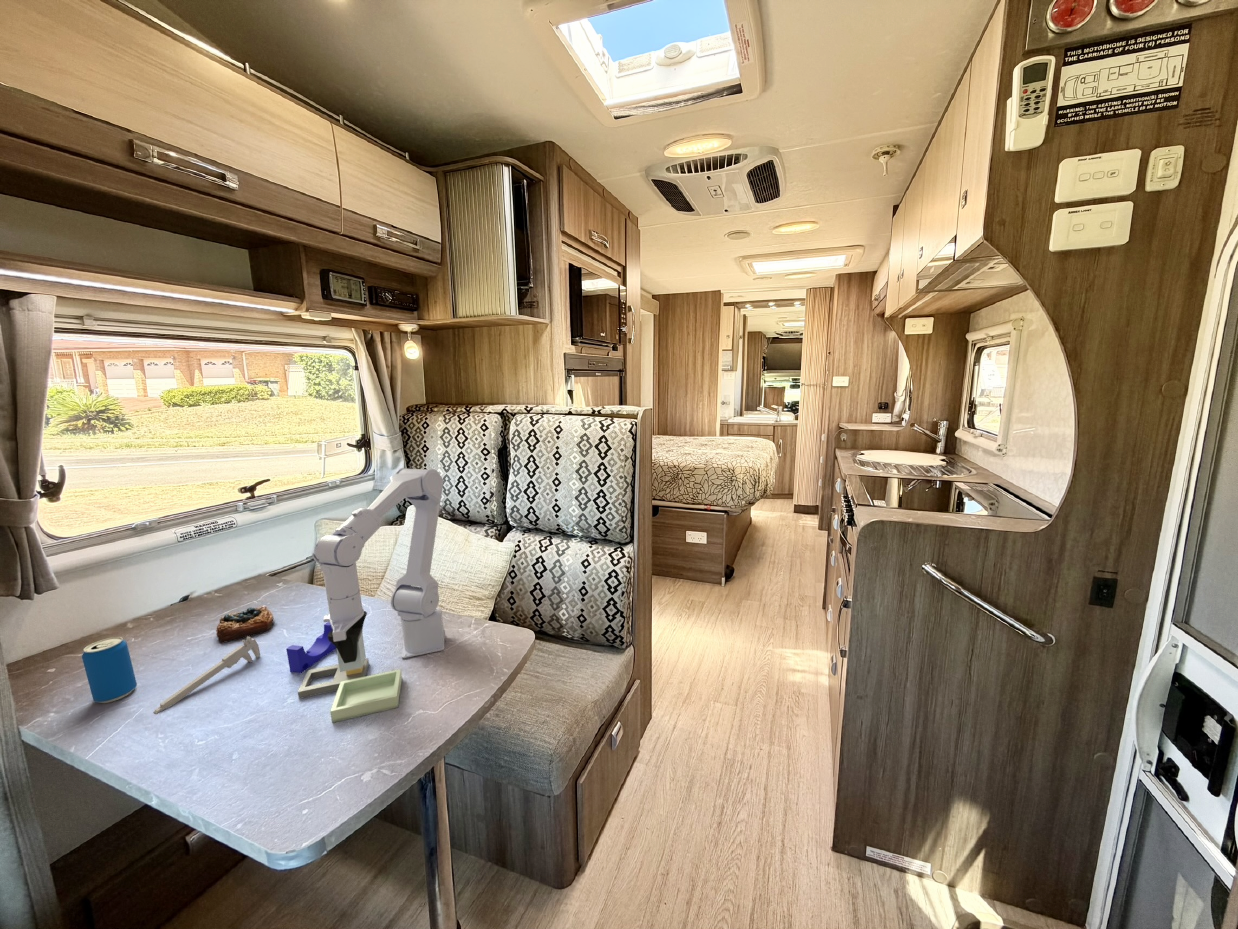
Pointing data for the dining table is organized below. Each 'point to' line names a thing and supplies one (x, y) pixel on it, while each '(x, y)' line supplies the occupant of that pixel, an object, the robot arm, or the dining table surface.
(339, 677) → the block
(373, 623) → the dining table surface
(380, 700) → the parts tray
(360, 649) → the grey-green rectangular block
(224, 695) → the dining table surface
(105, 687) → the beverage can
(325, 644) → the cable clip
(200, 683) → the caliper
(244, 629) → the pastry
